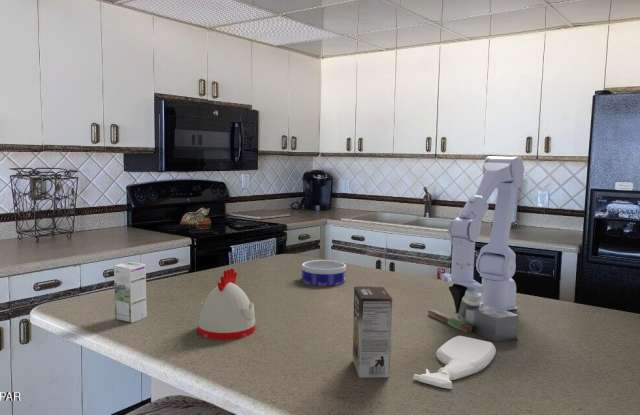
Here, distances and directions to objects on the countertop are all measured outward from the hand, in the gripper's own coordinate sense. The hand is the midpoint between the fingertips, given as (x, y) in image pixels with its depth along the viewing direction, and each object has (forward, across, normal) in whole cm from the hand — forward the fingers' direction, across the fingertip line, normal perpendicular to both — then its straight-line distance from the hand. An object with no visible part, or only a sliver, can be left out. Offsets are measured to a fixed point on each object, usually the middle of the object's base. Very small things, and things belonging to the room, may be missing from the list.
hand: (460, 312), depth 140 cm
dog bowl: (+2, -53, -16) cm, 55 cm away
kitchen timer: (+2, -15, -60) cm, 62 cm away
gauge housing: (+2, +12, 0) cm, 13 cm away
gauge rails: (+2, +1, 0) cm, 2 cm away
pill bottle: (+2, +2, 0) cm, 3 cm away
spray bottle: (+3, +25, -22) cm, 33 cm away
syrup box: (+2, -32, -81) cm, 87 cm away
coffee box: (+2, +19, -39) cm, 44 cm away
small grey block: (+2, +10, 0) cm, 10 cm away
